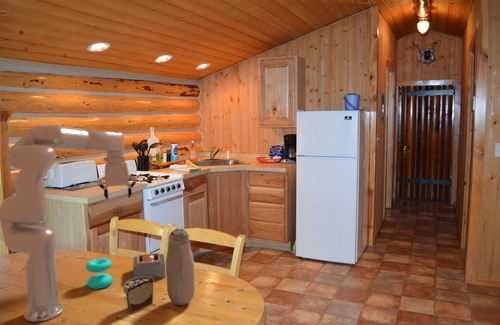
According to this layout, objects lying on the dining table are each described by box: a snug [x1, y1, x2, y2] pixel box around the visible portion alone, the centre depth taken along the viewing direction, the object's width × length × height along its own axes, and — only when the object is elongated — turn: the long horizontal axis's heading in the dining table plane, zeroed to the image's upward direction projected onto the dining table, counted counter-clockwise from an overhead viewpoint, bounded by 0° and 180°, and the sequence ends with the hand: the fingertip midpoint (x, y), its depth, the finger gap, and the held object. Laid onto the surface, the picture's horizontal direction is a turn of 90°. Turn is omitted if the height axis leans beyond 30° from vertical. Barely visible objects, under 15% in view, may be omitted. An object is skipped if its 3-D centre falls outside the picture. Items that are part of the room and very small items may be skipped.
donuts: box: [85, 257, 114, 290], centre depth 170 cm, size 10×10×10 cm
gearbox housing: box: [132, 252, 166, 280], centre depth 181 cm, size 13×13×7 cm
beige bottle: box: [165, 228, 196, 306], centre depth 152 cm, size 10×10×28 cm
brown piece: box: [122, 276, 156, 315], centre depth 151 cm, size 12×6×10 cm, turn 141°
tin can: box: [142, 253, 154, 261], centre depth 181 cm, size 5×5×8 cm
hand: (118, 197), depth 186 cm, fingers open, 9 cm apart
